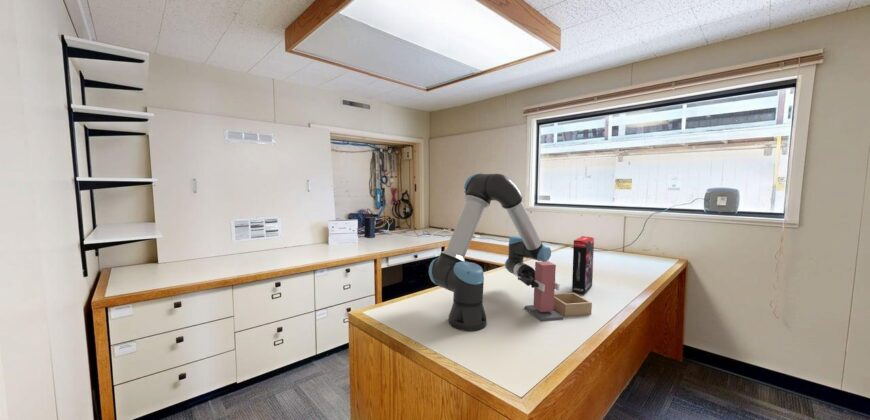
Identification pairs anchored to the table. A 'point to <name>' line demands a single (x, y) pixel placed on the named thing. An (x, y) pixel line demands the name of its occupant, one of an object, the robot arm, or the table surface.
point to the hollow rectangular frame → (571, 304)
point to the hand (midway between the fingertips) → (551, 287)
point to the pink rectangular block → (546, 277)
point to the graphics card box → (582, 264)
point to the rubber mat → (544, 314)
